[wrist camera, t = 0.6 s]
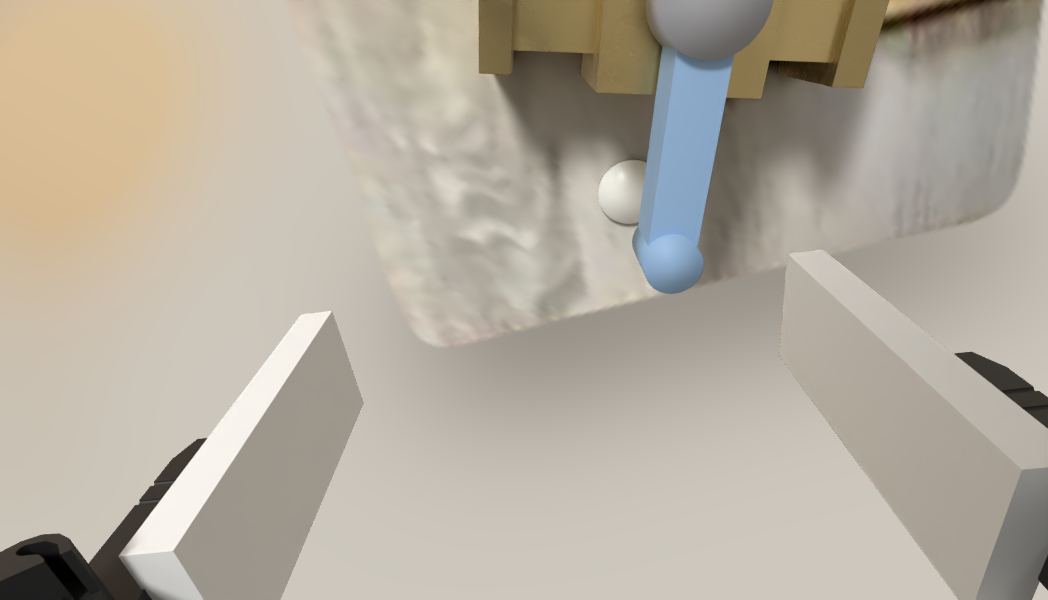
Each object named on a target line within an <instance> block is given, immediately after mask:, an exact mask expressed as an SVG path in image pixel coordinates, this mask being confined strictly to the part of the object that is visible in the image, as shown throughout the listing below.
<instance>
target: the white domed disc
mask: <svg viewBox="0 0 1048 600" xmlns="http://www.w3.org/2000/svg"><path fill="white" fill-rule="evenodd" d="M646 164H647V162H644V161H641V160H625V161H622V162H619V163H617V164H615V165H614V166H612V167H611V168H610V169H609V170H608V171H607V172H606V173H605V174H604V176H603V178H602V179H601V182H600V185H599V189H598V198H599V203H600V205H601V208H602V209H603V211H604V212H605V214H606V215H607V216H608V217H610V218H611V219H612V220H614V221H616V222H619V223H624V224H632V223H637V222H639V215H640V208H641V200H642V193H643V186H644V178H645V171H646Z"/></svg>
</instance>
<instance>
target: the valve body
mask: <svg viewBox="0 0 1048 600" xmlns="http://www.w3.org/2000/svg"><path fill="white" fill-rule="evenodd" d="M888 3H889V0H774V1H773V5H772V9H771V12H770V15H769V17H768V19H767V21H766V23H765V25H764V27H763V28H762V30H761V31H760V33H759V34H758V35H757V36H756V38H755V39H754V40H753V41H752V42H751V43H750V44H749V45H748V46H746V47H745V48H744V49H743V50H741V51H739V52H738V53H736V54H734V59H733V64H732V69H731V74H730V80H729V85H728V90H727V95H726V98H751V99H761V97H762V92H763V88H764V83H765V79H766V74H767V70H768V65H769V60H778V61H780V63H779V68H778V72H777V74H779V75H784V76H788V77H792V78H796V79H801V80H805V81H809V82H813V83H818V84H822V85H826V86H830V87H848V88H863V87H864V84H865V80H866V77H867V74H868V70H869V67H870V64H871V60H872V57H873V53H874V50H875V47H876V43H877V40H878V37H879V33H880V30H881V26H882V23H883V20H884V16H885V13H886V10H887V6H888ZM514 50H519V51H545V52H571V53H582V65H581V76H582V77H583V78H584V79H585V81H586V82H587V83H588V84H589V85H590V86H591V87H592V88H593V90H594V91H595V92H596V93H619V94H645V95H656V90H657V83H658V76H659V68H660V61H661V54H662V45H661V44H660V43H659V42H658V41H657V40H656V39H655V37H654V36H653V34H652V32H651V30H650V28H649V25H648V21H647V16H646V0H479V73H481V74H507V75H511V71H512V68H513V65H514Z"/></svg>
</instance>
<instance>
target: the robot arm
mask: <svg viewBox="0 0 1048 600" xmlns="http://www.w3.org/2000/svg"><path fill="white" fill-rule="evenodd" d="M779 357H780V358H781V359H782V361H783V362H784V363H785V365H786V366H787V368H788V369H789V370H790V372H791V373H792V374H793V376H794V377H795V378H796V380H797V381H798V382H799V384H800V385H801V387H802V388H803V389H804V391H805V392H806V393H807V395H808V396H809V397H810V399H811V400H812V402H813V403H814V404H815V406H816V407H817V408H818V410H819V411H820V412H821V414H822V415H823V417H824V418H825V419H826V421H827V422H828V423H829V424H830V426H831V427H832V429H833V430H834V431H835V433H836V434H837V435H838V437H839V438H840V440H841V441H842V442H843V444H844V445H845V446H846V448H847V449H848V450H849V452H850V453H851V454H852V456H853V457H854V459H855V460H856V461H857V463H858V464H859V465H860V467H861V468H862V470H863V471H864V472H865V474H866V475H867V476H868V478H869V479H870V480H871V482H872V483H873V484H874V486H875V487H876V489H877V490H878V491H879V493H880V494H881V495H882V497H883V498H884V499H885V501H886V502H887V504H888V505H889V506H890V507H891V509H892V510H893V512H894V513H895V514H896V516H897V517H898V518H899V520H900V521H901V523H902V524H903V525H904V526H905V528H906V529H907V531H908V532H909V533H910V535H911V536H912V537H913V539H914V540H915V542H916V543H917V544H918V546H919V547H920V548H921V550H922V551H923V552H924V554H925V555H926V556H927V558H928V559H929V561H930V562H931V563H932V565H933V566H934V567H935V569H936V570H937V571H938V573H939V574H940V576H941V577H942V578H943V579H944V581H945V582H946V584H947V585H948V586H949V588H950V589H951V590H952V592H953V593H954V595H955V596H956V597H957V599H958V600H1032V598H1033V596H1034V593H1035V591H1036V589H1037V586H1038V584H1039V582H1041V583H1042V585H1043V586H1044V587H1045V588H1046V589H1047V590H1048V397H1047V396H1045V395H1044V394H1042V393H1041V392H1040V391H1034V387H1033V386H1031V385H1030V384H1029V383H1027V382H1026V381H1025V380H1023V379H1022V378H1021V377H1019V376H1018V375H1017V374H1015V373H1014V372H1012V371H1011V370H1010V369H1009V368H1007V367H1005V366H1003V365H1001V364H998V363H996V362H993V361H991V360H989V359H987V358H985V357H982V356H980V355H978V354H975V353H973V352H965V353H956V354H953V353H952V352H951V351H950V350H948V349H947V348H946V347H945V346H943V345H942V344H941V343H939V342H938V341H937V340H936V339H934V338H933V337H932V336H931V335H929V334H928V333H927V332H926V331H924V330H923V329H922V328H921V327H919V326H918V325H917V324H916V323H914V322H913V321H912V320H911V319H909V318H908V317H907V316H906V315H904V314H903V313H902V312H901V311H899V310H898V309H897V308H896V307H894V306H893V305H892V304H890V303H889V302H888V301H887V300H885V299H884V298H883V297H882V296H880V295H879V294H878V293H877V292H875V291H874V290H873V289H872V288H870V287H869V286H868V285H867V284H865V283H864V282H863V281H862V280H860V279H859V278H858V277H856V276H855V275H854V274H853V273H852V272H850V271H849V270H848V269H847V268H845V267H844V266H843V265H842V264H840V263H839V262H838V261H837V260H835V259H834V258H833V257H831V256H830V255H829V254H828V253H826V252H825V251H824V250H823V249H821V250H813V251H805V252H797V253H789V254H787V264H786V276H785V289H784V301H783V313H782V326H781V338H780V350H779ZM362 405H363V400H362V397H361V394H360V391H359V388H358V385H357V382H356V379H355V376H354V374H353V371H352V368H351V365H350V362H349V359H348V356H347V353H346V350H345V347H344V344H343V341H342V339H341V336H340V333H339V330H338V327H337V324H336V321H335V318H334V315H333V312H332V311H327V312H319V313H310V314H302V315H301V316H300V317H299V318H298V319H297V321H296V322H295V323H294V325H293V326H292V327H291V329H290V330H289V331H288V333H287V334H286V336H285V337H284V338H283V339H282V341H281V342H280V343H279V344H278V346H277V347H276V348H275V350H274V351H273V352H272V354H271V355H270V356H269V358H268V359H267V360H266V362H265V363H264V364H263V366H262V367H261V368H260V370H259V371H258V372H257V374H256V375H255V376H254V378H253V379H252V380H251V381H250V383H249V384H248V385H247V387H246V388H245V389H244V391H243V392H242V394H241V395H240V396H239V397H238V399H237V400H236V401H235V403H234V404H233V405H232V407H231V408H230V409H229V411H228V412H227V413H226V415H225V416H224V417H223V419H222V420H221V421H220V422H219V424H218V425H217V427H216V428H215V429H214V430H213V432H212V433H211V434H210V436H209V437H208V438H203V439H197V440H196V441H195V442H193V443H192V444H191V445H190V446H188V447H187V448H186V449H184V450H183V451H182V452H181V453H179V454H178V455H177V456H176V457H174V458H173V459H172V460H171V461H170V462H169V464H168V465H167V466H166V467H165V469H164V470H163V471H162V472H161V474H160V475H159V476H158V477H157V479H156V480H155V481H154V486H150V487H149V489H148V490H147V491H146V493H145V494H144V495H143V496H142V498H141V499H140V500H139V501H140V503H139V505H135V506H134V508H133V509H132V510H131V511H130V512H129V514H128V515H127V516H126V517H125V519H124V520H123V521H122V523H121V524H120V525H119V526H118V528H117V529H116V530H115V531H114V532H113V534H112V535H111V536H110V537H109V539H108V540H107V541H106V543H105V544H104V545H103V546H102V547H101V549H100V550H99V551H98V553H97V554H96V555H95V556H94V558H93V559H92V560H91V561H90V563H89V564H88V563H87V562H86V560H85V559H84V558H83V556H82V555H81V554H80V552H79V551H78V550H77V549H76V547H75V546H74V544H73V543H72V542H71V540H70V539H69V538H67V537H65V536H63V535H61V534H44V535H40V536H37V537H34V538H30V539H27V540H24V541H21V542H19V543H17V544H15V545H13V546H11V547H10V548H8V549H6V550H4V551H2V552H0V600H280V599H281V597H282V594H283V592H284V590H285V587H286V585H287V583H288V580H289V578H290V576H291V573H292V571H293V568H294V566H295V564H296V561H297V559H298V557H299V554H300V552H301V550H302V547H303V545H304V542H305V540H306V538H307V535H308V533H309V531H310V528H311V526H312V524H313V521H314V519H315V516H316V514H317V512H318V509H319V507H320V505H321V502H322V500H323V498H324V495H325V493H326V490H327V487H328V486H329V483H330V481H331V479H332V476H333V474H334V471H335V469H336V467H337V464H338V462H339V460H340V457H341V455H342V453H343V450H344V448H345V445H346V443H347V440H348V438H349V436H350V434H351V431H352V429H353V427H354V424H355V422H356V420H357V417H358V415H359V412H360V410H361V408H362Z"/></svg>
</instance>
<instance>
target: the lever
mask: <svg viewBox="0 0 1048 600" xmlns="http://www.w3.org/2000/svg"><path fill="white" fill-rule="evenodd" d="M773 1H774V0H646V16H647V21H648V25H649V28H650V30H651V32H652V34H653V36H654V37H655V39H656V40H657V41H658V42H659V43H660V44H661V45H662V54H661V61H660V68H659V76H658V83H657V90H656V98H655V105H654V112H653V120H652V127H651V134H650V142H649V149H648V156H647V164H646V171H645V178H644V186H643V193H642V200H641V208H640V215H639V223H638V227H637V229H636V231H635V233H634V235H633V239H632V246H633V250H634V252H635V254H636V257H637V259H638V261H639V263H640V265H641V268H642V270H643V272H644V274H645V277H646V279H647V281H648V282H649V284H650V285H651V286H652V287H653V288H654V289H656V290H658V291H660V292H663V293H669V294H673V293H679V292H682V291H685V290H687V289H689V288H690V287H692V286H693V285H694V284H695V283H696V282H697V281H698V279H699V278H700V276H701V274H702V271H703V267H704V261H703V256H702V254H701V252H700V250H699V249H698V248H697V247H698V242H699V236H700V231H701V226H702V221H703V216H704V210H705V205H706V200H707V195H708V189H709V184H710V179H711V174H712V169H713V163H714V158H715V153H716V148H717V142H718V137H719V132H720V127H721V121H722V116H723V111H724V106H725V101H726V95H727V90H728V85H729V80H730V74H731V69H732V64H733V59H734V54H736V53H738V52H739V51H741V50H743V49H744V48H745V47H746V46H748V45H749V44H750V43H751V42H752V41H753V40H754V39H755V38H756V36H757V35H758V34H759V33H760V31H761V30H762V28H763V27H764V25H765V23H766V21H767V19H768V17H769V15H770V12H771V9H772V5H773Z"/></svg>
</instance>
